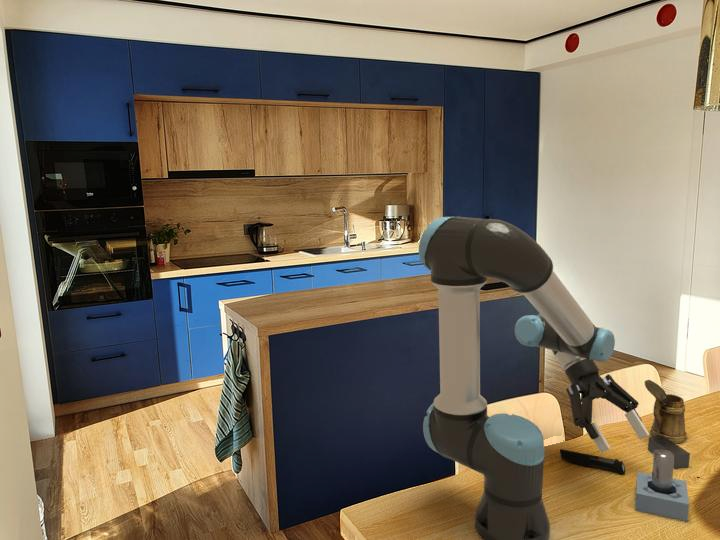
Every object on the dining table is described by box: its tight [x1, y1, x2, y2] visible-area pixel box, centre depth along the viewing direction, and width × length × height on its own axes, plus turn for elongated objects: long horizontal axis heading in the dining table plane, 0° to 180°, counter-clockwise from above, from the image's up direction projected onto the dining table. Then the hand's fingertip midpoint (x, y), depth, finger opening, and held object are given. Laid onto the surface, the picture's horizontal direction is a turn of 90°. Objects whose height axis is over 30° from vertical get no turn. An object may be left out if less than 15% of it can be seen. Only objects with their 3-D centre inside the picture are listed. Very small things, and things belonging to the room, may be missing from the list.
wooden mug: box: [644, 379, 688, 444], centre depth 156 cm, size 9×14×18 cm, turn 113°
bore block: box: [634, 471, 690, 522], centre depth 127 cm, size 10×10×4 cm
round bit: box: [651, 449, 674, 495], centre depth 126 cm, size 4×4×12 cm
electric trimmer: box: [559, 448, 626, 476], centre depth 144 cm, size 4×16×3 cm, turn 61°
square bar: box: [647, 435, 691, 470], centre depth 146 cm, size 10×4×4 cm, turn 10°
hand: (626, 444), depth 134 cm, fingers open, 13 cm apart
